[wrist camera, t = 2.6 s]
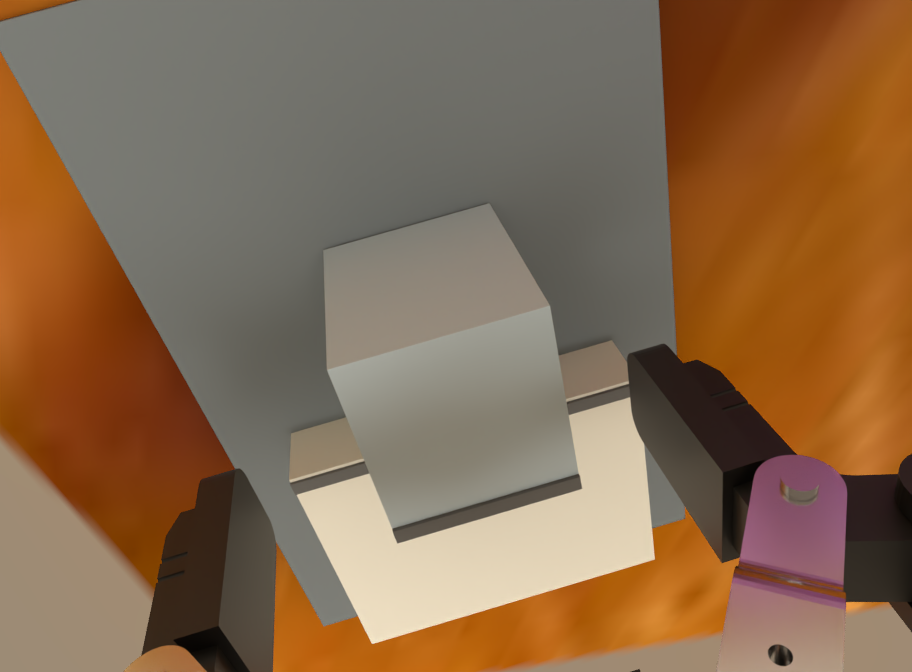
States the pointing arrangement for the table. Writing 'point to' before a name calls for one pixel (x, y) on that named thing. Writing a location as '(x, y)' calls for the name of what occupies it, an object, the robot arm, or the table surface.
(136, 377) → the table surface
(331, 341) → the stub
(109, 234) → the pad
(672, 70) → the table surface
